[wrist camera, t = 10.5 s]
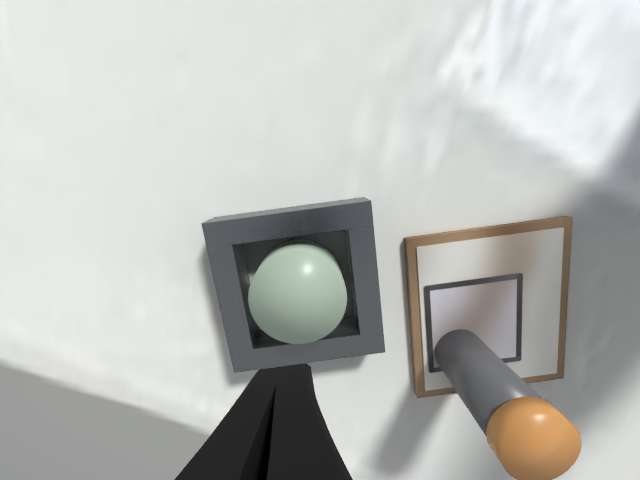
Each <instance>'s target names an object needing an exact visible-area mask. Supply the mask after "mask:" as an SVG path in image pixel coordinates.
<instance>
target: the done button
mask: <svg viewBox="0 0 640 480" xmlns="http://www.w3.org/2000/svg"><path fill="white" fill-rule="evenodd" d="M248 302H249V308H250V312H251V314H252V317H253V319H254V320H255V322H256V323H257V325H258V326H259V327H260V328H261V329H262V330H263V331H264V332H265V333H266V334H268V335H269V336H271V337H272V338H274V339H276V340H279V341H282V342H285V343H290V344H306V343H311V342H314V341H317V340H319V339H321V338H323V337H325V336H326V335H328V334H329V333H330V332H332V331H333V330H334V329H335V328H336V327H337V325H338V324H339V323H340V321H341V319H342V318H343V315H344V313H345V310H346V306H347V291H346V286H345V283H344V280H343V276H342V273H341V270H340V267H339V264H338V262H337V260H336V259H335V257H334V256H333V254H332V253H331V252H330V251H329V250H327V249H326V248H325V247H323V246H322V245H320V244H318V243H316V242H313V241H309V240H302V239H297V240H290V241H286V242H283V243H281V244H279V245H277V246H276V247H274V248H273V249H272V250H271V251H269V252H268V254H267V255H266V256H265V257H264V259H263V261H262V262H261V264H260V266H259V268H258V270H257V271H256V273H255V275H254V277H253V279H252V281H251V284H250V287H249V293H248Z"/></svg>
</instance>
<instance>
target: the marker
mask: <svg viewBox="0 0 640 480" xmlns="http://www.w3.org/2000/svg"><path fill="white" fill-rule="evenodd" d="M434 354H435V360H436V362H437V364H438V365H439V367H440V368H441V370H442V371H443V372H444V374H445V375H446V377H447V378H448V380H449V381H450V383H451V384H452V386H453V387H454V389H455V390H456V392H457V393H458V395H459V396H460V398H461V399H462V401H463V402H464V404H465V405H466V407H467V408H468V410H469V411H470V413H471V414H472V416H473V417H474V419H475V420H476V421H477V423H478V424H479V426H480V427H481V429H482V430H483V432H484V433H485V435H486V436H487V441H488V443H489V445H490V447H491V448H492V450H493V451H494V453H495V454H496V456H497V457H498V459H499V460H500V462H501V463H502V465H503V466H504V468H505V469H506V471H507V472H508V473H509V474H510V475H511V476H512V477H514V478H516V479H518V480H552V479H555V478H557V477H559V476H560V475H562V474H563V473H565V472H566V471H567V470H568V469H569V468H570V467H571V466H572V465H573V464H574V463H575V461H576V460H577V458H578V456H579V453H580V450H581V437H580V434H579V432H578V430H577V429H576V427H575V426H574V425H573V424H572V423H571V422H570V421H569V420H568V419H567V418H566V417H565V416H563V415H562V414H561V413H560V412H559V411H558V410H557V409H556V408H555V407H554V406H553V405H552V404H551V403H549V402H548V401H546V400H544V399H542V398H541V397H540V396H539V395H538V394H537V393H536V392H535V391H534V390H533V389H532V388H531V387H530V386H529V385H528V384H526V383H525V382H524V381H523V380H522V379H521V378H520V377H519V376H518V375H517V374H516V373H515V372H514V371H513V370H512V369H511V368H510V367H509V366H508V365H507V364H506V363H505V362H504V361H503V360H502V359H501V358H500V357H498V356H497V355H496V354H495V353H494V352H493V351H492V350H491V349H490V348H489V347H488V346H487V345H486V344H485V343H484V342H483V341H482V340H481V339H480V338H479V337H478V336H477V335H476V334H474V333H473V332H471V331H469V330H464V329H458V330H453V331H450V332H448V333H446V334H445V335H444V336H442V337H441V338H440V340H439V341H438V343H437V345H436V347H435V353H434Z"/></svg>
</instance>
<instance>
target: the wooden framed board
mask: <svg viewBox="0 0 640 480" xmlns="http://www.w3.org/2000/svg"><path fill="white" fill-rule="evenodd" d="M571 228H572V217H569V216H563V217H555V218H548V219H540V220H533V221H525V222H518V223H511V224H503V225H496V226H488V227H481V228H473V229H466V230H459V231H451V232H444V233H436V234H429V235H421V236H414V237H406V238H404V243H405V257H406V271H407V285H408V299H409V313H410V327H411V341H412V356H413V370H414V384H415V394H416V396H417V398H420V397H428V396H435V395H442V394H450V393H457V392H456V390H455V389H454V387H453V386H452V384H451V383H450V381H449V380H448V378H447V377H446V375H445V374H444V372H443V371H442V370H441V368H440V367H439V365H438V364H437V362H436V360H435V354H434V353H435V347H436V345H437V343H438V341H439V340H440V338H441V337H442V336H444V335H445V334H446V333H448V332H450V331H453V330H458V329H464V330H469V331H471V332H473V333H474V334H476V335H477V336H478V337H479V338H480V339H481V340H482V341H483V342H484V343H485V344H486V345H487V346H488V347H489V348H490V349H491V350H492V351H493V352H494V353H495V354H496V355H497V356H498V357H500V358H501V359H502V360H503V361H504V362H505V363H506V364H507V365H508V366H509V367H510V368H511V369H512V370H513V371H514V372H515V373H516V374H517V375H518V376H519V377H520V378H521V379H522V380H523V381H524V382H525V383H531V382H539V381H546V380H553V379H561V378H563V376H564V357H565V339H566V320H567V302H568V283H569V265H570V246H571Z"/></svg>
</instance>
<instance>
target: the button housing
mask: <svg viewBox="0 0 640 480" xmlns="http://www.w3.org/2000/svg"><path fill="white" fill-rule="evenodd" d="M202 228H203V232H204V237H205V242H206V246H207V251H208V255H209V260H210V264H211V269H212V273H213V278H214V282H215V287H216V291H217V296H218V301H219V305H220V310H221V314H222V319H223V323H224V328H225V332H226V337H227V341H228V346H229V350H230V355H231V360H232V364H233V369H234V372H242V371H249V370H257V369H264V368H271V367H279V366H286V365H294V364H301V363H309V362H316V361H323V360H331V359H338V358H346V357H353V356H360V355H368V354H375V353H383V352H385V345H384V334H383V323H382V313H381V302H380V291H379V280H378V270H377V259H376V248H375V237H374V227H373V216H372V205H371V200H368V199H366V198H364V197H363V198H355V199H348V200H340V201H333V202H325V203H318V204H310V205H303V206H296V207H288V208H281V209H273V210H266V211H258V212H251V213H243V214H236V215H229V216H221V217H214V218H212V219H210V220H208V221H206V222H204V223H202ZM338 230H345V236H346V245H347V254H348V262H349V271H350V280H351V288H352V297H353V306H354V315H355V317H349V318H342V319H341V321H340V323H339V324H338V325H337V327H336V328H335V329H334V330H333V331H332V332H330V333H329V334H328V335H326V336H325V337H323V338H321V339H319V340H317V341H314V342H311V343H306V344H290V343H285V342H282V341H279V340H276V339H274V338H272V337H271V336H269V335H268V334H266V333H265V332H264V331H263V330H262V329H260V330H259V326H258V325H257V323H256V322H255V320H254V319H253V317H252V314H251V312H250V308H249V302H248V293H249V287H250V279H249V273H248V268H247V263H246V258H245V253H244V247H243V243H249V242H256V241H264V240H271V239H279V238H286V237H294V236H301V235H309V234H316V233H323V232H331V231H338Z"/></svg>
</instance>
